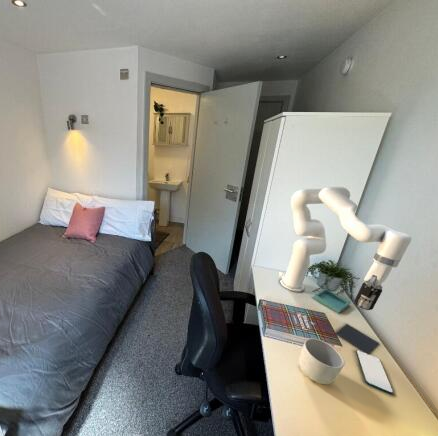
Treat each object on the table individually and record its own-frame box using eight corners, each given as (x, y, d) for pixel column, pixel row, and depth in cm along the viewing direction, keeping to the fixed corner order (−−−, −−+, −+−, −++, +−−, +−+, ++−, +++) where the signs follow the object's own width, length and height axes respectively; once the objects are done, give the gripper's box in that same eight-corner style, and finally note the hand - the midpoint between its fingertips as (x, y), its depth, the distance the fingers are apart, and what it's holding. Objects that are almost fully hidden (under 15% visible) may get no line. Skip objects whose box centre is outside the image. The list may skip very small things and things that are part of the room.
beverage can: (364, 301, 108) (375, 280, 104) (376, 311, 102) (388, 290, 98) (350, 300, 109) (360, 279, 104) (360, 310, 103) (371, 288, 98)
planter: (314, 355, 96) (323, 336, 92) (342, 386, 85) (353, 366, 81) (289, 358, 94) (296, 339, 90) (313, 390, 83) (323, 370, 79)
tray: (313, 298, 131) (314, 294, 130) (324, 291, 137) (325, 288, 136) (338, 313, 121) (340, 309, 120) (349, 305, 127) (350, 302, 126)
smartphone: (393, 395, 83) (378, 359, 96) (394, 393, 83) (379, 358, 96) (365, 383, 87) (354, 350, 100) (366, 381, 86) (355, 349, 99)
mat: (335, 333, 108) (335, 332, 108) (346, 324, 114) (347, 323, 114) (367, 354, 98) (368, 353, 98) (378, 343, 104) (378, 342, 104)
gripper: (382, 251, 104) (366, 283, 110) (367, 259, 95) (350, 294, 102) (405, 259, 98) (386, 293, 104) (391, 269, 89) (372, 305, 96)
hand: (369, 293), depth 103 cm, fingers closed on beverage can, 6 cm apart
